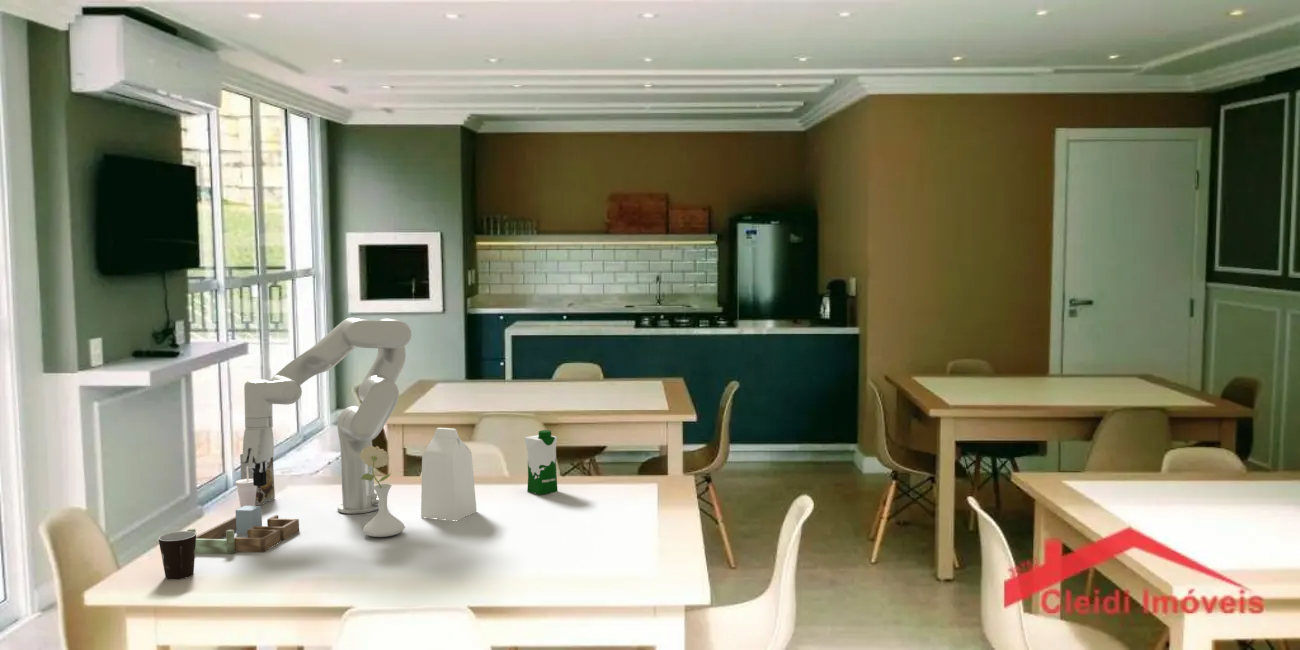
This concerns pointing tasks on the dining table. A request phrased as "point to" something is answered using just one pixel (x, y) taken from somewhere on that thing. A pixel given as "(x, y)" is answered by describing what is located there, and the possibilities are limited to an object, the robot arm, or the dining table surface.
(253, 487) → the smoothie
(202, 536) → the brown open tray piece
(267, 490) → the coffee box
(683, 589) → the dining table surface
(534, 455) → the milk carton
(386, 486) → the flower in vase
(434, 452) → the milk
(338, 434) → the robot arm
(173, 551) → the coffee mug
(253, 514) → the block
